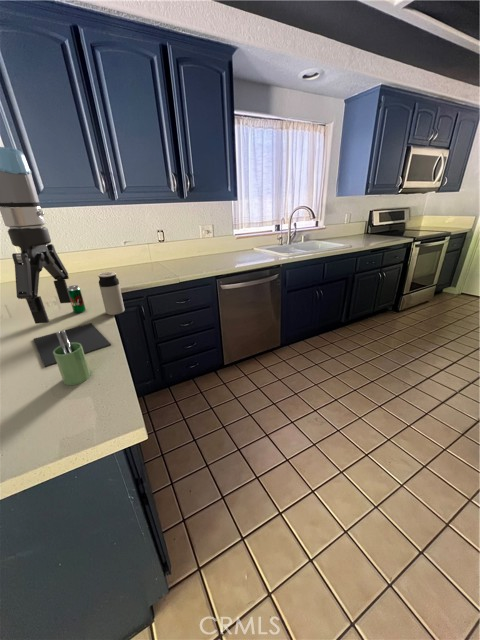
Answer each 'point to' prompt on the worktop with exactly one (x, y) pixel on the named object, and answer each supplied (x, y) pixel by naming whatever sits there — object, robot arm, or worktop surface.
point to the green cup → (72, 364)
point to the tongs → (63, 342)
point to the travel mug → (111, 293)
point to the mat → (70, 341)
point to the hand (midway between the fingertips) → (55, 311)
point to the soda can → (76, 299)
